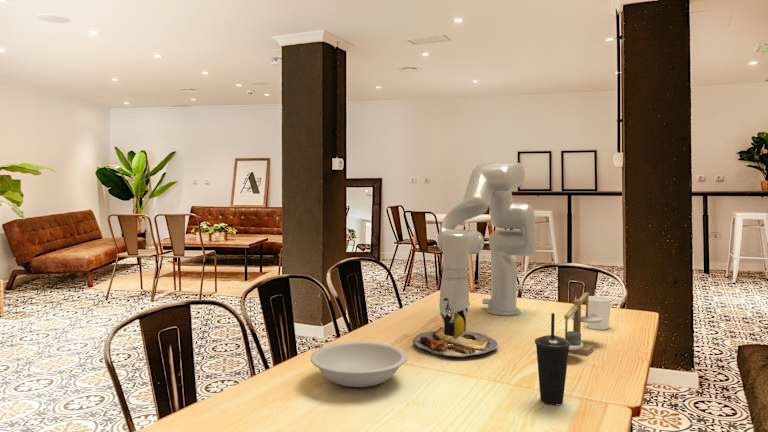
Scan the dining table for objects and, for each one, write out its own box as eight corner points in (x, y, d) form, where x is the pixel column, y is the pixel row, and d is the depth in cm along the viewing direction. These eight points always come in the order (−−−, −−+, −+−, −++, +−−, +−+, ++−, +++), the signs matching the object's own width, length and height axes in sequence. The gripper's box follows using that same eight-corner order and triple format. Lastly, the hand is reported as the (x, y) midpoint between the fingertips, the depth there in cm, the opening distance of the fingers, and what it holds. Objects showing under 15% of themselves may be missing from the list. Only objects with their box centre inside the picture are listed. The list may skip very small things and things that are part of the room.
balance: (544, 359, 148) (544, 303, 147) (576, 337, 169) (577, 288, 168) (576, 365, 142) (577, 307, 141) (605, 342, 163) (607, 291, 162)
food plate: (398, 347, 160) (398, 335, 159) (444, 332, 177) (444, 321, 176) (467, 368, 143) (468, 355, 142) (511, 349, 160) (511, 338, 159)
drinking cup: (528, 394, 123) (530, 309, 122) (560, 393, 123) (562, 309, 122) (541, 408, 115) (542, 318, 114) (575, 407, 116) (577, 317, 115)
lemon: (466, 336, 161) (465, 311, 161) (462, 342, 156) (462, 315, 155) (448, 335, 163) (447, 309, 162) (444, 340, 158) (444, 314, 157)
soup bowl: (373, 409, 115) (373, 379, 115) (290, 387, 128) (289, 360, 127) (424, 375, 135) (424, 350, 135) (348, 359, 148) (348, 336, 148)
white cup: (606, 324, 184) (606, 296, 184) (613, 330, 176) (614, 301, 176) (582, 324, 185) (583, 295, 184) (589, 330, 177) (589, 300, 177)
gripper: (459, 268, 167) (459, 324, 168) (428, 276, 154) (428, 337, 155) (480, 271, 163) (480, 328, 164) (450, 279, 149) (450, 341, 150)
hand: (455, 332), depth 159 cm, fingers open, 5 cm apart
